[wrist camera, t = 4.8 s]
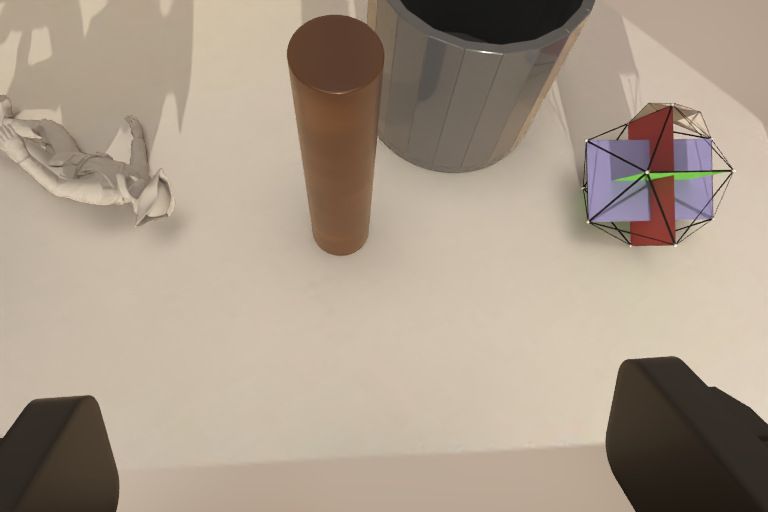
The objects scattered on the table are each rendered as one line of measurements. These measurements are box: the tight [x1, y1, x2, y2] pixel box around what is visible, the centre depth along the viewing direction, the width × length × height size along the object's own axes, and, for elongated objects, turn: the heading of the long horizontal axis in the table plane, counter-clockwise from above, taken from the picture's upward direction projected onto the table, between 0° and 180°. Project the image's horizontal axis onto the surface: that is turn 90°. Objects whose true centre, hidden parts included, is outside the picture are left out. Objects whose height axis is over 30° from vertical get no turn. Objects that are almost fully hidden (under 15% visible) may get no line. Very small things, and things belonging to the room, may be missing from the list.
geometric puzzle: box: [582, 103, 736, 247], centre depth 29 cm, size 7×7×8 cm
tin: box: [367, 0, 595, 172], centre depth 29 cm, size 10×10×10 cm
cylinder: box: [287, 15, 385, 255], centre depth 24 cm, size 3×3×14 cm
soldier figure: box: [0, 95, 175, 227], centre depth 29 cm, size 8×5×12 cm
